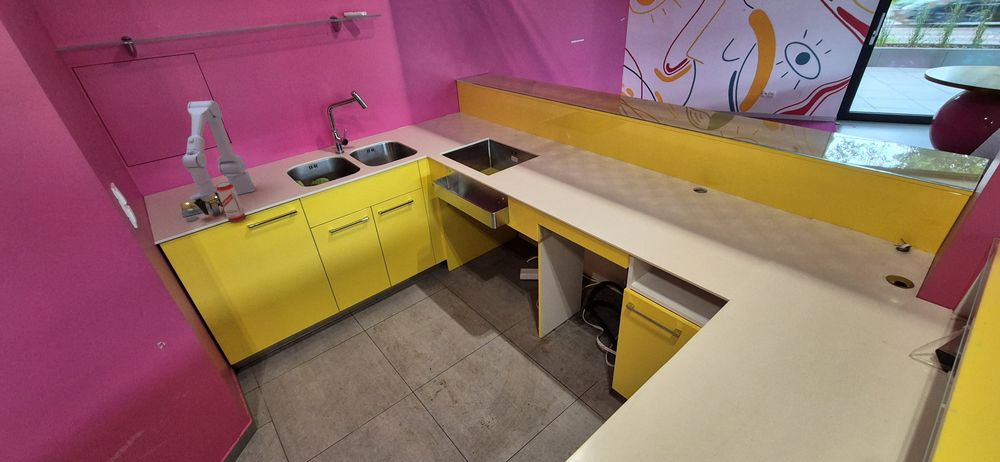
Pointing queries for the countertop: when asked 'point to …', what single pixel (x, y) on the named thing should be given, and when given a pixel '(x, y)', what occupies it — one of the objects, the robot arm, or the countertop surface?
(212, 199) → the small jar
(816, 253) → the countertop surface
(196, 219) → the pad
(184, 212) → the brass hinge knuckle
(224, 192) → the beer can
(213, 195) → the fixed leaf
